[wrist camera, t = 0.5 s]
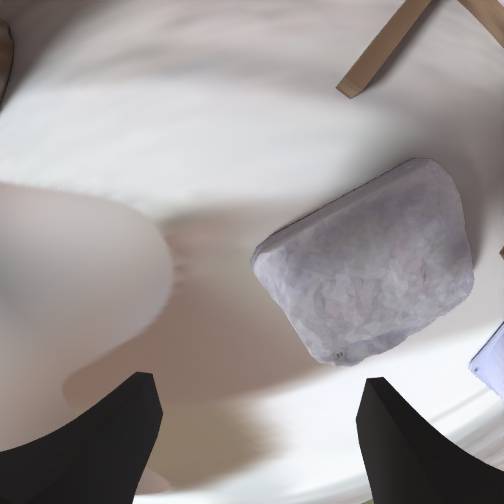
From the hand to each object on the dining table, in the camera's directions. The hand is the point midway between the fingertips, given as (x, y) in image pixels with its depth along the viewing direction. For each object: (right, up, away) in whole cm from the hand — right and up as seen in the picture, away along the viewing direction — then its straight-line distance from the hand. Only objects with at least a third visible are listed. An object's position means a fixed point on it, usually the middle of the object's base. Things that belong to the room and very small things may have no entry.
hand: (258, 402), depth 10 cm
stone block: (+7, +4, +9) cm, 12 cm away
